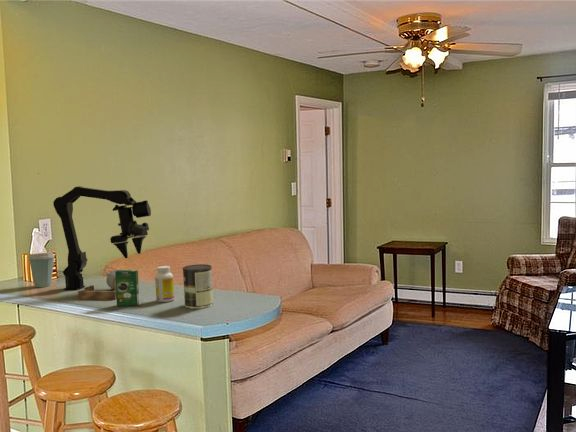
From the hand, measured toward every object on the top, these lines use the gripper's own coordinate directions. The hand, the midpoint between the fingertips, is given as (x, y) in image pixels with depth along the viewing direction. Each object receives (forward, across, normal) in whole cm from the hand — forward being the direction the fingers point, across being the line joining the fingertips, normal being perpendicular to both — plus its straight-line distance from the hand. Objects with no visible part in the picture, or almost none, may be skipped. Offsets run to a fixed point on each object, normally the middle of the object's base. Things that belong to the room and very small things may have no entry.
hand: (132, 255), depth 248 cm
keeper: (+12, -19, +2) cm, 23 cm away
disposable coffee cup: (+8, -8, +44) cm, 45 cm away
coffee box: (+14, -31, -17) cm, 38 cm away
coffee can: (+17, -26, -44) cm, 53 cm away
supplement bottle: (+15, -22, -27) cm, 38 cm away
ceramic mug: (+13, -7, +3) cm, 15 cm away
